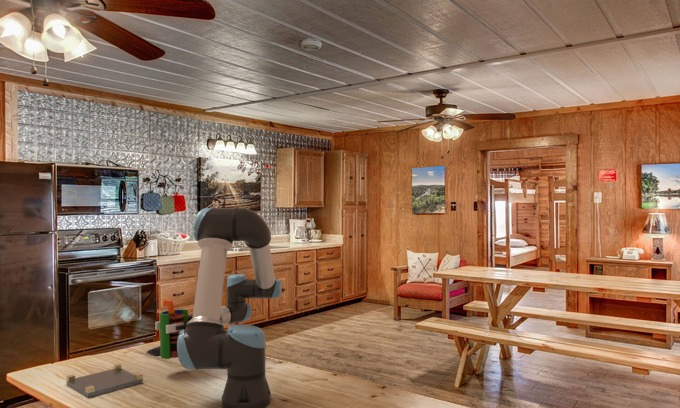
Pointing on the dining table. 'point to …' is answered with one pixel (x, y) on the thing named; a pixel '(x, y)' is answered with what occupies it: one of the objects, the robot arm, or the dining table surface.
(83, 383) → the plate
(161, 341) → the motor
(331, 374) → the dining table surface
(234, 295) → the robot arm
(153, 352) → the dark slate chunk
